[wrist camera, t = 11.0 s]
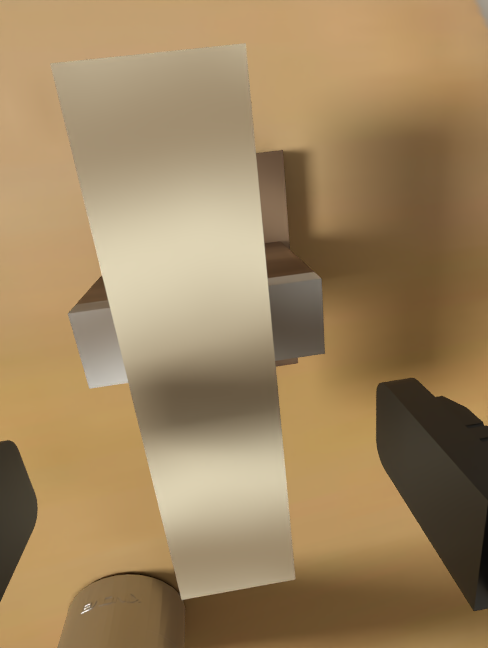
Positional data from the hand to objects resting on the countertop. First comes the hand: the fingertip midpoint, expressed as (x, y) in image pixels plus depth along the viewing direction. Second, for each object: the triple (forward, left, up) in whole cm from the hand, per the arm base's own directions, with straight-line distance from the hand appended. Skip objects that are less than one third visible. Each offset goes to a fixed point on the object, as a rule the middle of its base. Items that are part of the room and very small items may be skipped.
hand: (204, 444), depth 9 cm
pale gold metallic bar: (0, 0, -6) cm, 6 cm away
